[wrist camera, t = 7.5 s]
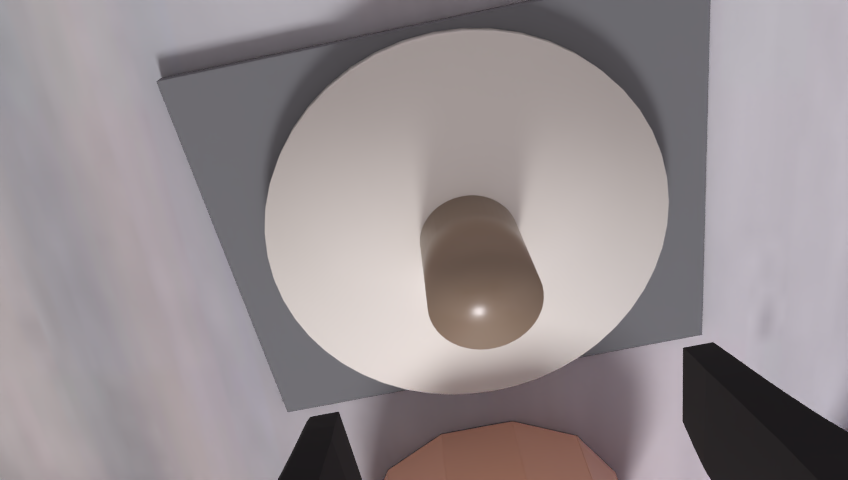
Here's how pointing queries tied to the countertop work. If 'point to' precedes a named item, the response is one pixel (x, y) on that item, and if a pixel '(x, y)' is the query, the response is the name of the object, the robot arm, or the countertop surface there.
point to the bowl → (503, 456)
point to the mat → (320, 65)
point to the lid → (466, 211)
